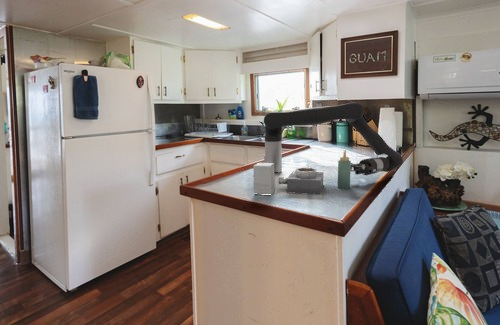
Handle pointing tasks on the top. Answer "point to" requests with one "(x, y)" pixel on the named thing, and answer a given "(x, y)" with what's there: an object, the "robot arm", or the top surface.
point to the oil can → (344, 172)
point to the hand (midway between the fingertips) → (348, 170)
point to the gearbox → (304, 181)
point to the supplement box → (264, 178)
